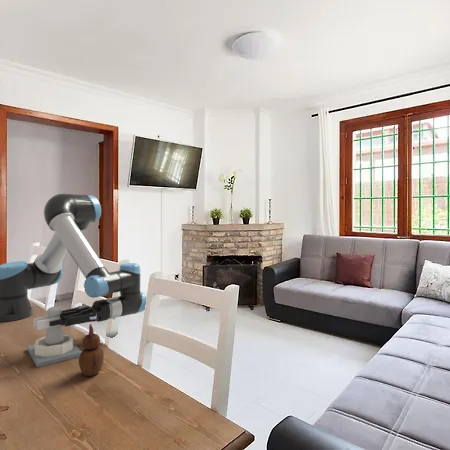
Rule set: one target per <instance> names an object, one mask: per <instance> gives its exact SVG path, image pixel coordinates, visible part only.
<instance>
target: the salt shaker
mask: <svg viewBox="0 0 450 450" xmlns="http://www.w3.org/2000/svg"><path fill="white" fill-rule="evenodd" d="M61 312H62V308H61V307H60V306H52V307H51V306H50V307H48V308H47V309H46V316H49V319H50V318H55V317H60V314H61ZM64 334H65V333H64V329H63V326H62V325H61V324H60V325H59V326H55V327H50V328H46V333H45V336H44V337H45V344H46V345H47V346H53V345H59V344H62V343H63V341H64Z"/></svg>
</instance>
